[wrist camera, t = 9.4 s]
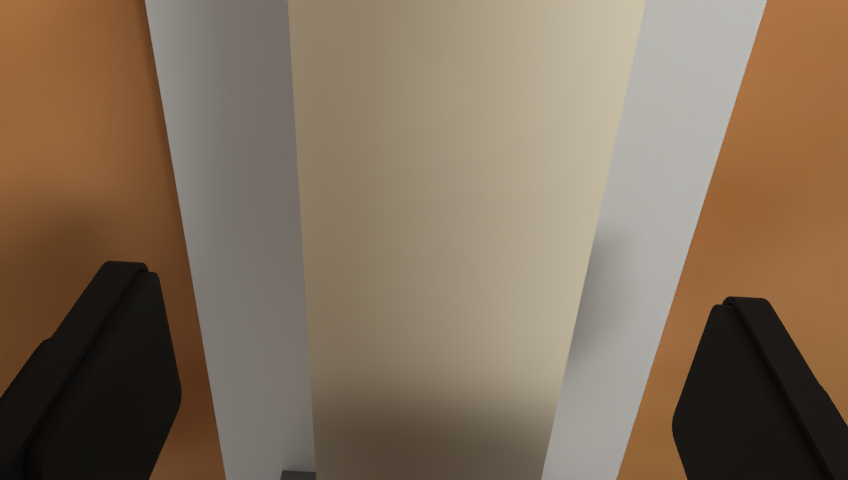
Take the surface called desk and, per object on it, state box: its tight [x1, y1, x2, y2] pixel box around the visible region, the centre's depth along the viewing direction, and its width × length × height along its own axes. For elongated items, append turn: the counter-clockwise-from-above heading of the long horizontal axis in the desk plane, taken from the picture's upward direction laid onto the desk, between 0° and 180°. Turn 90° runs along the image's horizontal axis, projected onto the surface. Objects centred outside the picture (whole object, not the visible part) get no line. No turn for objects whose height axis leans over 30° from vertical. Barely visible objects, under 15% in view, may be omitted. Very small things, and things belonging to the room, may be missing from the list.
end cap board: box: [145, 0, 767, 480], centre depth 13 cm, size 10×28×4 cm, turn 177°
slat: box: [288, 0, 646, 480], centre depth 12 cm, size 3×22×6 cm, turn 177°
